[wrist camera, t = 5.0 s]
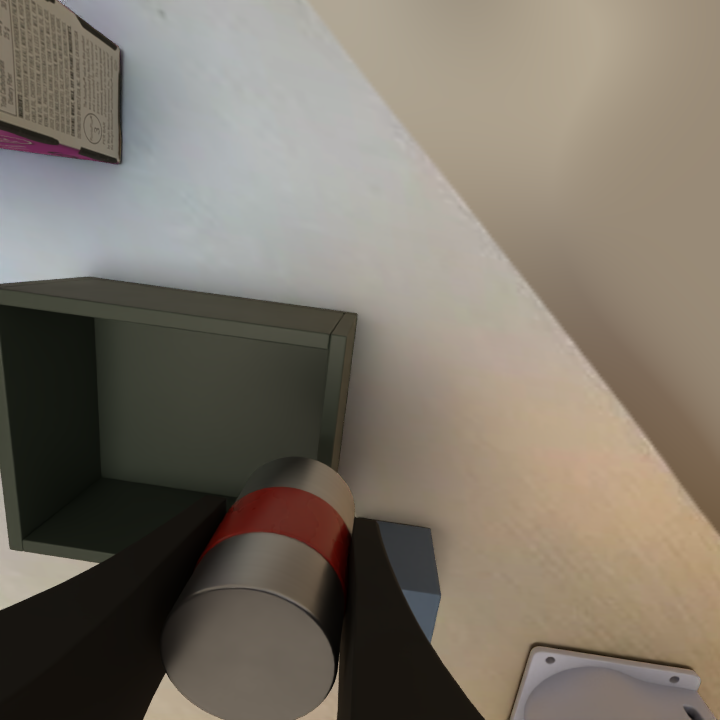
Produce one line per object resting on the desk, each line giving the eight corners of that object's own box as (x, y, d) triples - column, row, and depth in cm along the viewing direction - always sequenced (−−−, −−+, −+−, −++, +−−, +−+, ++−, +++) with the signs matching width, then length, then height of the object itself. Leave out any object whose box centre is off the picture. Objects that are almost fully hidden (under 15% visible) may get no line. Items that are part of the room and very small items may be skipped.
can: (363, 463, 12) (351, 599, 8) (349, 564, 13) (329, 741, 8) (244, 446, 12) (155, 569, 8) (238, 547, 13) (156, 713, 9)
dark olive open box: (357, 313, 19) (347, 336, 14) (332, 515, 22) (315, 597, 17) (87, 276, 20) (-23, 285, 14) (97, 479, 23) (9, 549, 17)
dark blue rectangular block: (430, 528, 22) (441, 595, 18) (418, 587, 23) (426, 665, 19) (357, 517, 22) (350, 581, 18) (348, 577, 23) (340, 651, 19)
